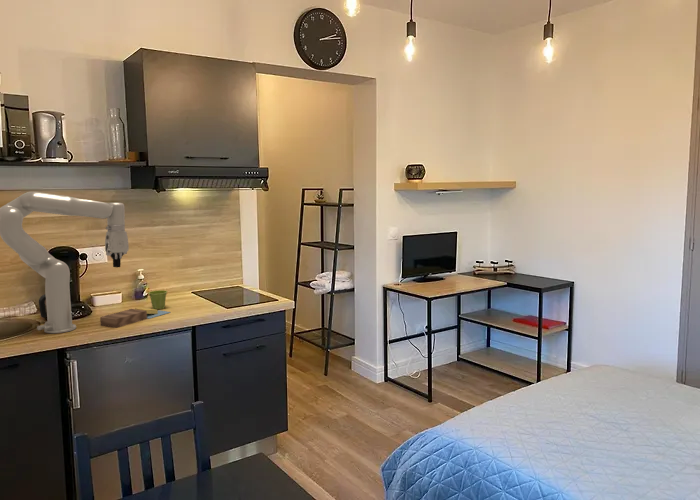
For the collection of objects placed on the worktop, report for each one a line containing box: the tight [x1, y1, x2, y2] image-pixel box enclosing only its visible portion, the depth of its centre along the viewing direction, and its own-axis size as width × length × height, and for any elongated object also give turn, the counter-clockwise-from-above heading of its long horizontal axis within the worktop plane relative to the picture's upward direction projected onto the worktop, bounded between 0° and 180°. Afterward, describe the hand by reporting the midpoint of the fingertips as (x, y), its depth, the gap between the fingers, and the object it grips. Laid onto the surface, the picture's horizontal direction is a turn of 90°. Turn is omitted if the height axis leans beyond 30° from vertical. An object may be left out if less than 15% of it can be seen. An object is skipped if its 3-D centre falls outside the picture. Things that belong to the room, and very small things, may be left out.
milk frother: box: [38, 294, 47, 319], centre depth 251 cm, size 14×16×15 cm
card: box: [134, 307, 159, 314], centre depth 262 cm, size 9×6×2 cm, turn 154°
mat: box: [146, 309, 171, 320], centre depth 265 cm, size 14×12×1 cm
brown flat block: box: [99, 308, 148, 329], centre depth 250 cm, size 18×10×4 cm, turn 154°
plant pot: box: [147, 289, 168, 310], centre depth 277 cm, size 9×9×9 cm
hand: (116, 267), depth 252 cm, fingers closed
